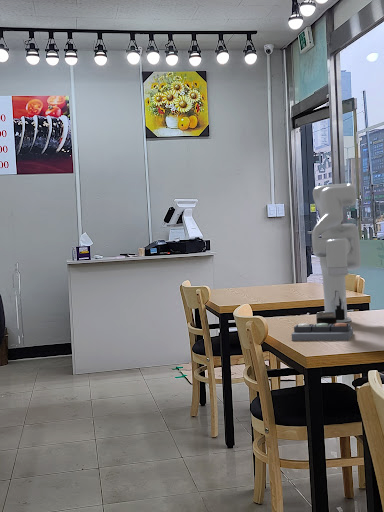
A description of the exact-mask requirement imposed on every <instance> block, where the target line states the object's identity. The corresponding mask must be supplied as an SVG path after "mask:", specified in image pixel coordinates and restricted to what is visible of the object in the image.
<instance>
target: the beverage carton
mask: <svg viewBox="0 0 384 512" xmlns="http://www.w3.org/2000/svg"><path fill="white" fill-rule="evenodd" d="M315 319H316V320H315V321H316V323H315V324H319V323H327V324H332V325H333V324H336V323H337V321H336V317H335V314H334V312H325V311H323V310H322V311H319V312H316V315H315Z"/></svg>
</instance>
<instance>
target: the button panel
mask: <svg viewBox="0 0 384 512" xmlns="http://www.w3.org/2000/svg"><path fill="white" fill-rule="evenodd" d="M298 324H299V323H298ZM298 324H296V325H294V327H293V332H292V333H291V341H301V342H302V341H349V340H350V339H351V338H352V336H353V334H354V330H353V327H352V326H351V323H347V326H335V324H333V325H332V324H328V326H324V327H316V324H317V323H315V324H313V323H311V324H310V323H309V324H310V327H298Z"/></svg>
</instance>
